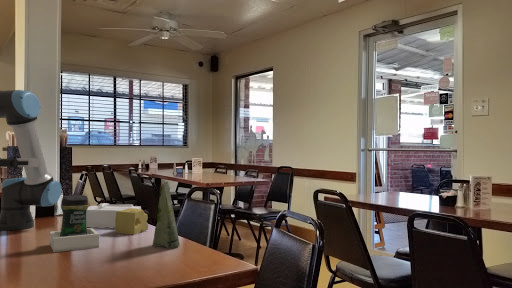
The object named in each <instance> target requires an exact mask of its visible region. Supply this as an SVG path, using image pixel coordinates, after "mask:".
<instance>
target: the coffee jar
mask: <svg viewBox="0 0 512 288" xmlns="http://www.w3.org/2000/svg"><path fill="white" fill-rule="evenodd" d="M88 207H89V199H88V196H87V195H84V194H80V195H79V194H73V195H64V196H62V198H61V204H60V209H61V212H62V220H61V229H60V231H61V234H60V237H66V236H77V235H87V229H88V228H87V225H86V211H87V209H88Z"/></svg>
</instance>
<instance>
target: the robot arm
mask: <svg viewBox="0 0 512 288" xmlns="http://www.w3.org/2000/svg"><path fill="white" fill-rule="evenodd" d="M41 109H42V107H41V102H40V100H39V99H38V97H37V95H36V94H34V93H33V92H32V91H29V90H22V89H15V90H14V89H11V90H0V119H5V121H6V124H7V126H10V127H12V130H13V135H14V137H15V140H16V146H17V147H18V151H19V155H20V157H19V158H17V156H13V157H11V158H1V157H0V168H14V170H17V169H18V168H23V169H24V172H25V176H26V177H25V176H24V177H16V178H6V179H3V180H2V182H1V192H0V193H1V194H0V195H1V196H0V199H1V201H0V202H1V204H0V206H1V208H0V209H1V210H0V231H18V230H25V229H30V228H33V227H34V226H35V221H34V218H33V215H32V214H33V213H32V212H31V206H33V207H34V206H36V207H53V206H54V205H56V204H57V202H59V200H60V198H61V195H62V189H63V188H62V184H61V182H59V181H58V180H55V179H54V177H53V174H52V173H50V172H48V169H47V164H46V161H45V156H44V153H43V150H42V149H43V148H42V145H41V142H40V138H39V135H38V131H37V128H36V127H37V126H36V124H35V123H36V122H37V121H38V116H39V114H40V113H41Z"/></svg>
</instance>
